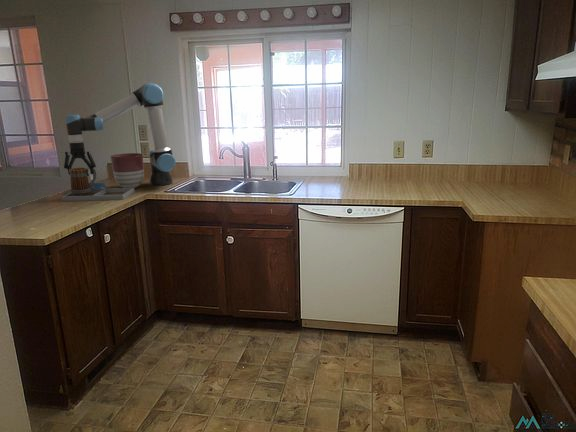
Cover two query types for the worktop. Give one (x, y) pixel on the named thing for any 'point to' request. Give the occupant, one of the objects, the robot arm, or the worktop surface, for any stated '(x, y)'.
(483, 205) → the worktop surface
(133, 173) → the planter
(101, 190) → the grey tray
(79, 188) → the mug
